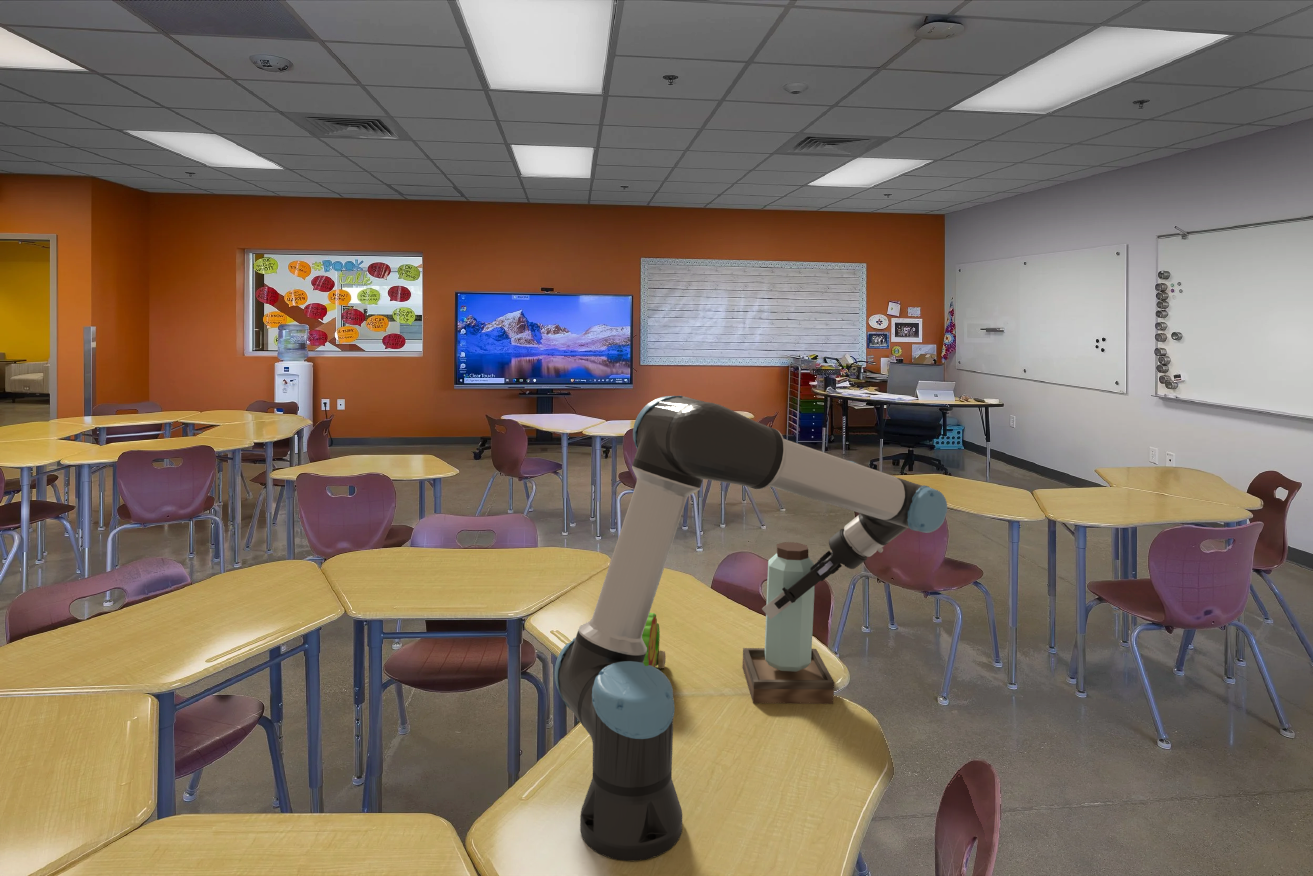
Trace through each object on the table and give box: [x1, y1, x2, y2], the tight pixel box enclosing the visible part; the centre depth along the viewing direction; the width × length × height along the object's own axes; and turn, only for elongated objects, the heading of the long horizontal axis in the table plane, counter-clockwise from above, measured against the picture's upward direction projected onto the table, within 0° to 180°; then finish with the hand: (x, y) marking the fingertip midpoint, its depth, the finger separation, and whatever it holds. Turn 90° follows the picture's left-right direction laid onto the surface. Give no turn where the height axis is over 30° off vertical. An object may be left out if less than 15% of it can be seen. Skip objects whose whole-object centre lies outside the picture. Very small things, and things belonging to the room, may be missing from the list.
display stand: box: [741, 647, 835, 705], centre depth 161 cm, size 16×16×4 cm
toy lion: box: [642, 612, 667, 669], centre depth 161 cm, size 16×5×15 cm, turn 171°
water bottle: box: [764, 541, 816, 672], centre depth 158 cm, size 10×10×25 cm
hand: (775, 605), depth 160 cm, fingers closed on water bottle, 10 cm apart
